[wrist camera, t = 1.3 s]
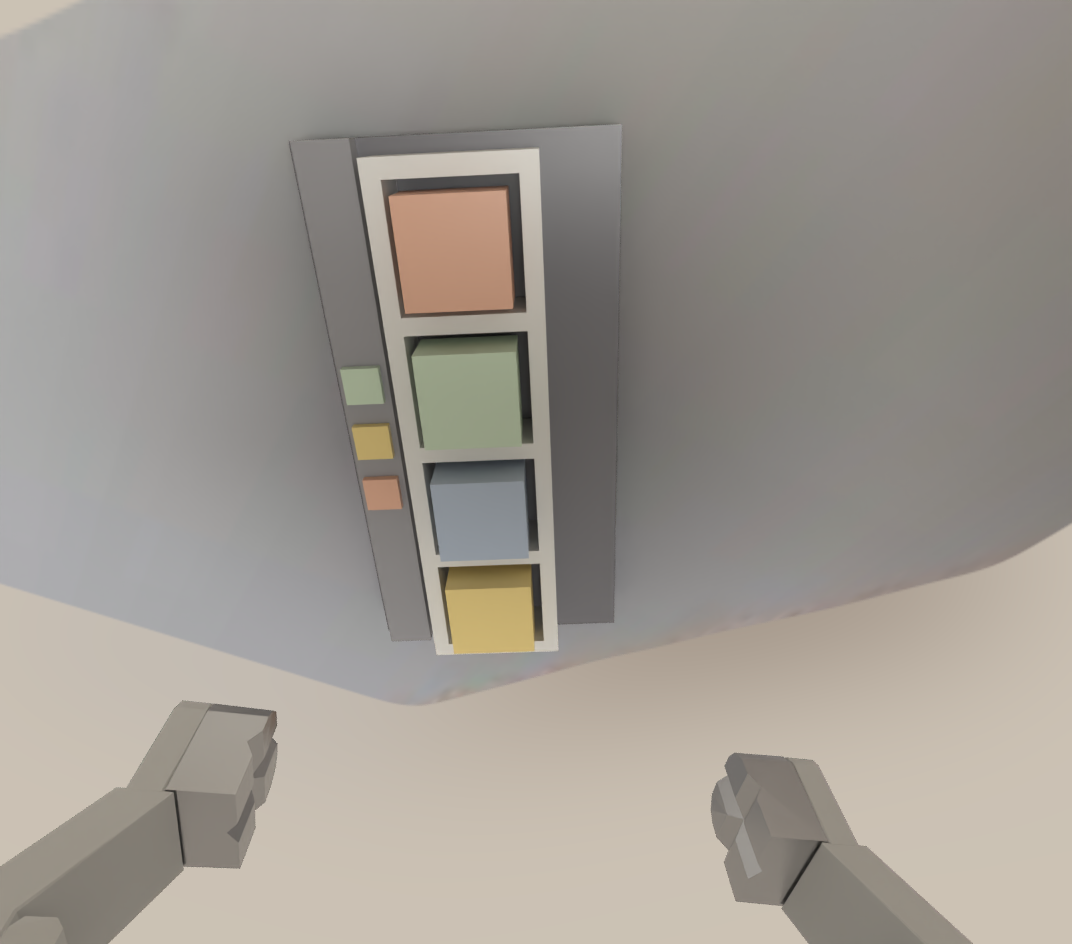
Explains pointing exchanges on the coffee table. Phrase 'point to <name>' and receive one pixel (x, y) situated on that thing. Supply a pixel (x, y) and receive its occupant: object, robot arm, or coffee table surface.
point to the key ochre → (491, 608)
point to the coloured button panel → (537, 319)
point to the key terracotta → (454, 249)
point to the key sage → (469, 392)
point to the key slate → (481, 510)
